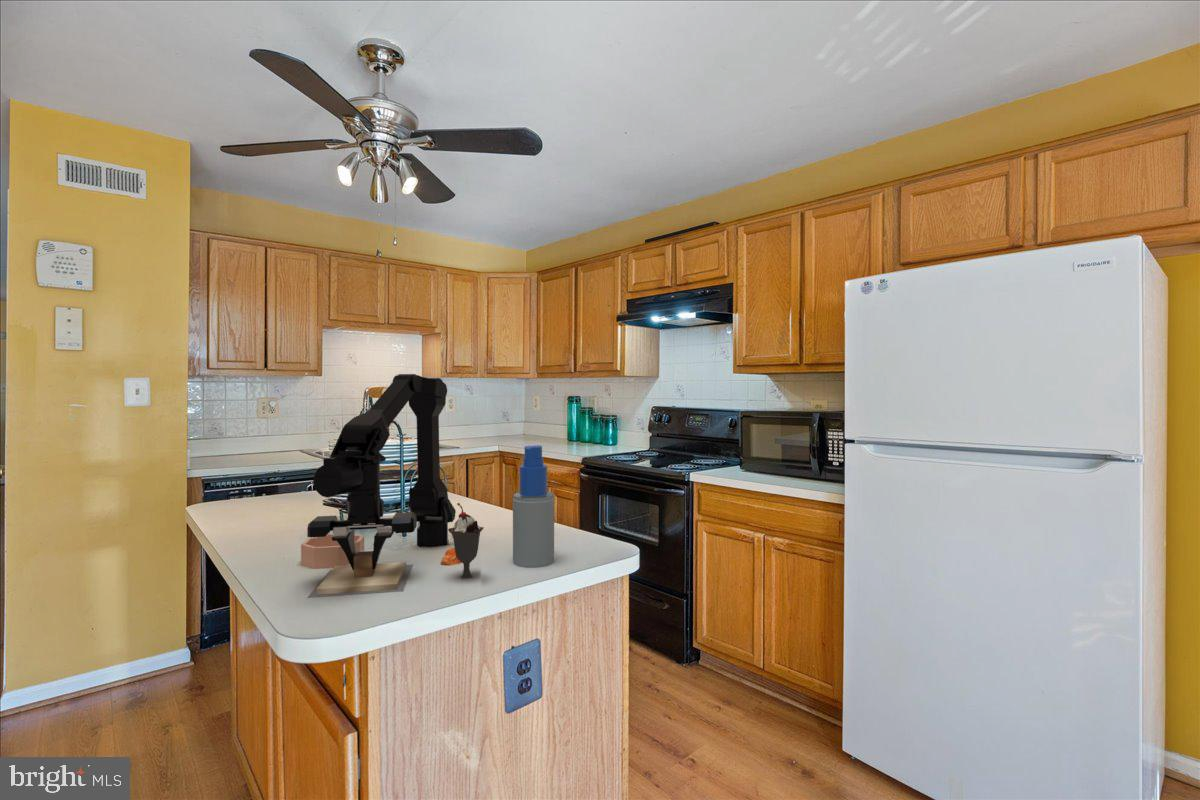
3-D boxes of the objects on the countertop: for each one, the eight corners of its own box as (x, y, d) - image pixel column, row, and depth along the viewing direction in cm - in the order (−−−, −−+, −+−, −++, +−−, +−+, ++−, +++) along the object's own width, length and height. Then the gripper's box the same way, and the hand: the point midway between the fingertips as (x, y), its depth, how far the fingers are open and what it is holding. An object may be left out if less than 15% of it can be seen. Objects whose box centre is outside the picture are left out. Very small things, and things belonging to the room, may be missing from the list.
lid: (406, 566, 118) (406, 542, 118) (396, 589, 105) (396, 562, 105) (335, 570, 115) (334, 546, 115) (316, 594, 102) (316, 566, 102)
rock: (415, 576, 117) (415, 555, 117) (435, 558, 129) (435, 539, 129) (474, 576, 116) (474, 555, 116) (488, 558, 128) (488, 539, 128)
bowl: (367, 554, 130) (367, 532, 130) (356, 570, 118) (356, 545, 118) (311, 557, 127) (311, 534, 127) (295, 573, 116) (295, 549, 116)
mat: (413, 568, 119) (413, 564, 119) (403, 595, 104) (403, 591, 104) (330, 573, 116) (330, 569, 116) (307, 602, 100) (307, 597, 100)
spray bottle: (535, 552, 131) (535, 443, 130) (562, 560, 125) (562, 445, 124) (504, 561, 124) (504, 446, 124) (531, 570, 118) (530, 448, 118)
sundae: (451, 575, 115) (451, 500, 115) (485, 574, 115) (485, 500, 115) (445, 586, 108) (445, 507, 108) (481, 585, 109) (481, 507, 109)
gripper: (419, 479, 119) (419, 554, 120) (322, 482, 116) (323, 559, 116) (413, 488, 108) (413, 571, 109) (306, 492, 105) (306, 577, 105)
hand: (364, 569), depth 110 cm, fingers closed on lid, 3 cm apart
